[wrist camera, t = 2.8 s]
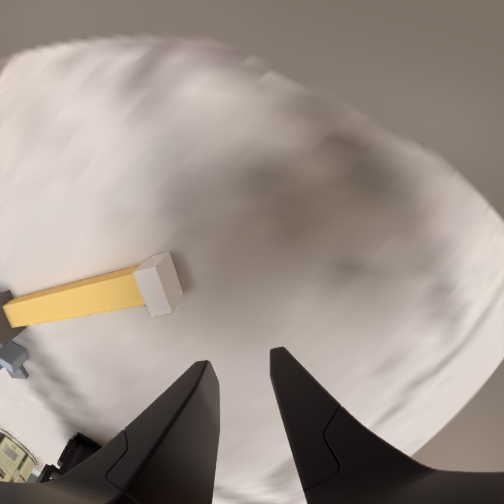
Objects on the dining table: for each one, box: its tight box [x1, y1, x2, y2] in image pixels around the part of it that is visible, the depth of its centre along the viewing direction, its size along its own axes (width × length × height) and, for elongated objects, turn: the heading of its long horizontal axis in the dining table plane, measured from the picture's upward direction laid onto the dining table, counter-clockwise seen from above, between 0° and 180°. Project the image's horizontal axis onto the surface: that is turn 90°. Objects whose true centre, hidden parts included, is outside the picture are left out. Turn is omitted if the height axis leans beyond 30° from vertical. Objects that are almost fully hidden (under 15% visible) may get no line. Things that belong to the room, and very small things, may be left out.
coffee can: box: [0, 429, 37, 483], centre depth 23 cm, size 10×10×14 cm
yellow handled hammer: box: [0, 252, 183, 348], centre depth 18 cm, size 22×4×4 cm, turn 104°
